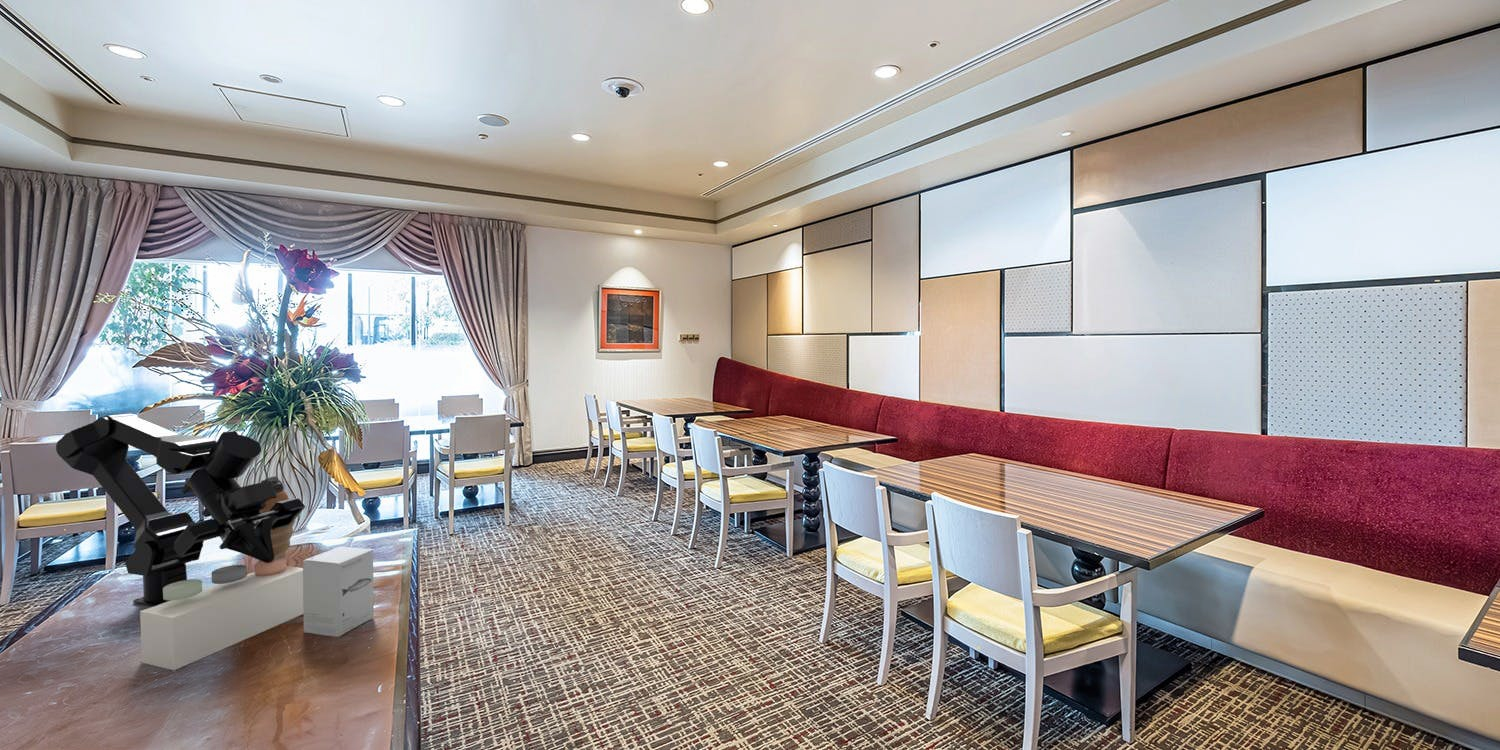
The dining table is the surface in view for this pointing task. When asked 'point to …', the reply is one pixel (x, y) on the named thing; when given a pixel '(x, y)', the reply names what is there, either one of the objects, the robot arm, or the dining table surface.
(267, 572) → the terracotta button
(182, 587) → the sage button
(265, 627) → the button bar
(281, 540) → the cat ice cream
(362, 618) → the supplement box
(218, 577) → the grey button
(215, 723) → the dining table surface
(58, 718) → the dining table surface
